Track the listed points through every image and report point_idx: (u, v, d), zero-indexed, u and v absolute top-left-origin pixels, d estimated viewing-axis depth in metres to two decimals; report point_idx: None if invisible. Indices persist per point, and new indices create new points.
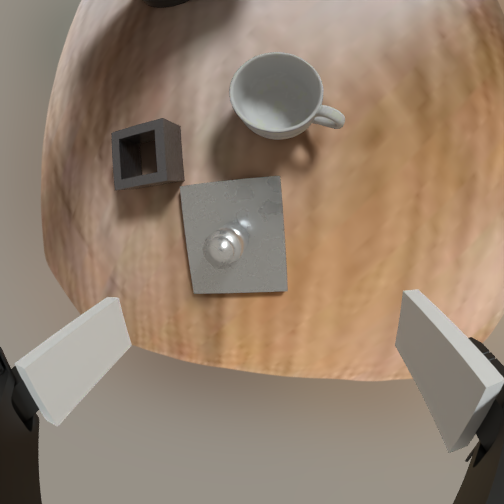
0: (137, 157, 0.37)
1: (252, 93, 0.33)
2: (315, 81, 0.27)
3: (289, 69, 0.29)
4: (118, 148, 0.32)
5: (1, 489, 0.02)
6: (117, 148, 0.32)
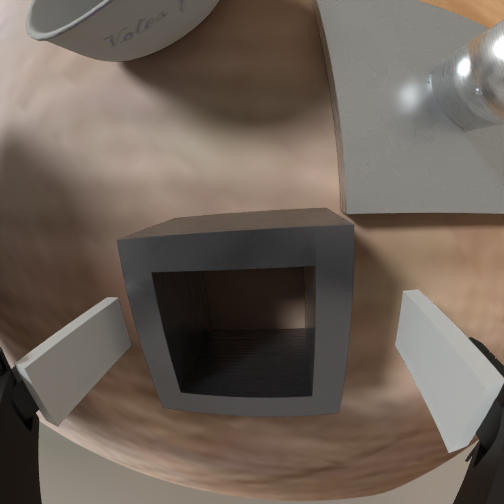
0: (246, 338, 0.15)
1: None
2: None
3: None
4: (209, 397, 0.11)
5: (1, 489, 0.02)
6: (207, 400, 0.11)
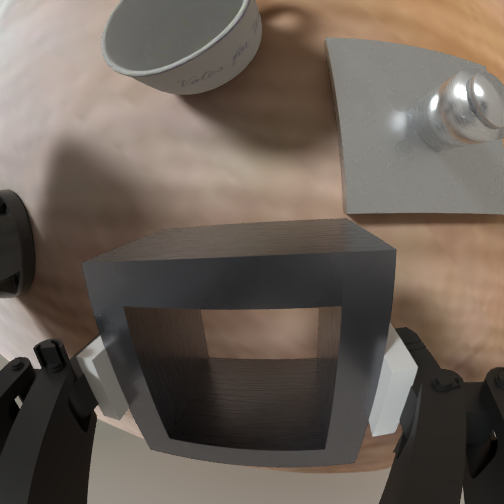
0: (248, 371, 0.13)
1: None
2: None
3: (139, 30, 0.15)
4: (202, 446, 0.08)
5: (43, 502, 0.02)
6: (200, 449, 0.08)
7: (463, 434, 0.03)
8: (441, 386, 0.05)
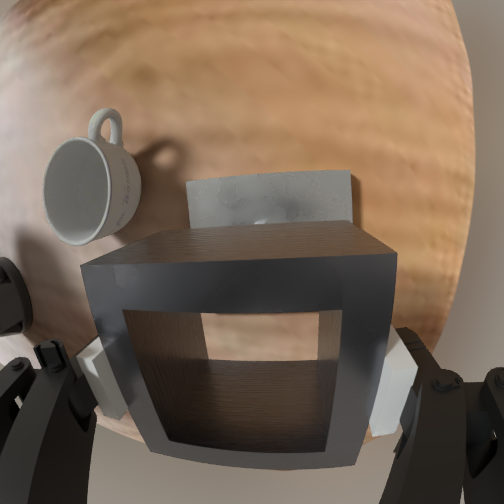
0: (248, 372, 0.13)
1: (97, 218, 0.28)
2: (69, 148, 0.22)
3: (67, 178, 0.25)
4: (201, 448, 0.08)
5: (43, 501, 0.02)
6: (200, 451, 0.08)
7: (463, 434, 0.03)
8: (441, 386, 0.05)
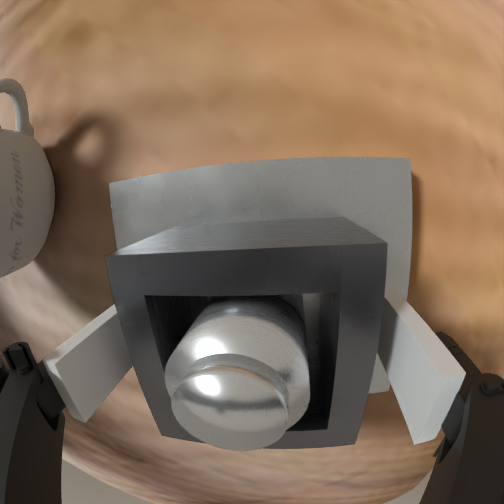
0: None
1: None
2: None
3: None
4: None
5: (19, 493, 0.02)
6: None
7: None
8: (488, 390, 0.04)
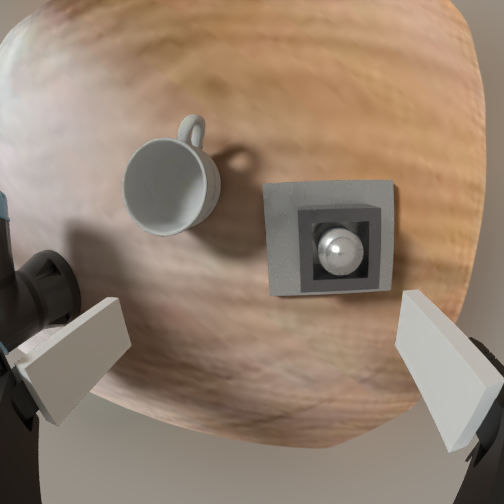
0: None
1: (171, 213, 0.34)
2: (153, 147, 0.28)
3: (143, 175, 0.31)
4: (325, 281, 0.27)
5: (1, 489, 0.02)
6: (324, 283, 0.27)
7: None
8: None
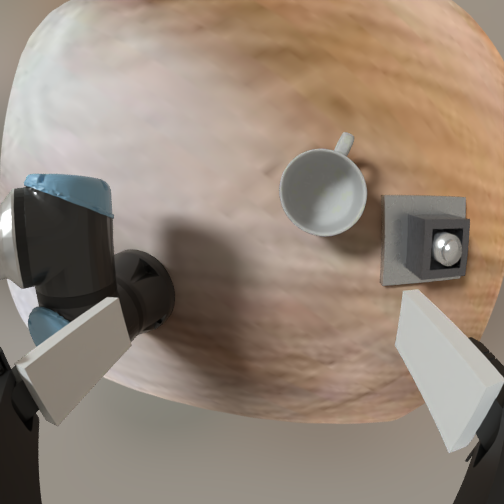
0: None
1: (306, 215, 0.39)
2: (310, 154, 0.32)
3: (287, 178, 0.35)
4: (436, 270, 0.32)
5: (0, 489, 0.02)
6: (436, 272, 0.32)
7: None
8: None
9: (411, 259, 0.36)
